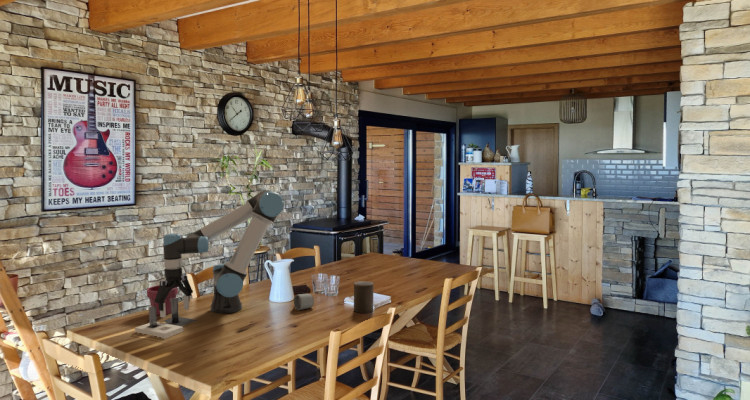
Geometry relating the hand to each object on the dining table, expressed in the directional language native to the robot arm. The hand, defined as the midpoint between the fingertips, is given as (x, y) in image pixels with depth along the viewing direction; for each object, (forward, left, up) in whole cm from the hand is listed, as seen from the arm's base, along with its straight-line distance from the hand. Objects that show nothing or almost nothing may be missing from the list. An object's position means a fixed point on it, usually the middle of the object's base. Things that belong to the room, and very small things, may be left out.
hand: (175, 313), depth 243 cm
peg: (0, 0, -4) cm, 4 cm away
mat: (0, 0, -5) cm, 5 cm away
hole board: (+13, +5, -5) cm, 15 cm away
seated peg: (+13, +1, -5) cm, 14 cm away
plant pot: (-9, -18, -5) cm, 21 cm away
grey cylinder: (-45, +39, -5) cm, 60 cm away
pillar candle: (-55, +69, -5) cm, 88 cm away
